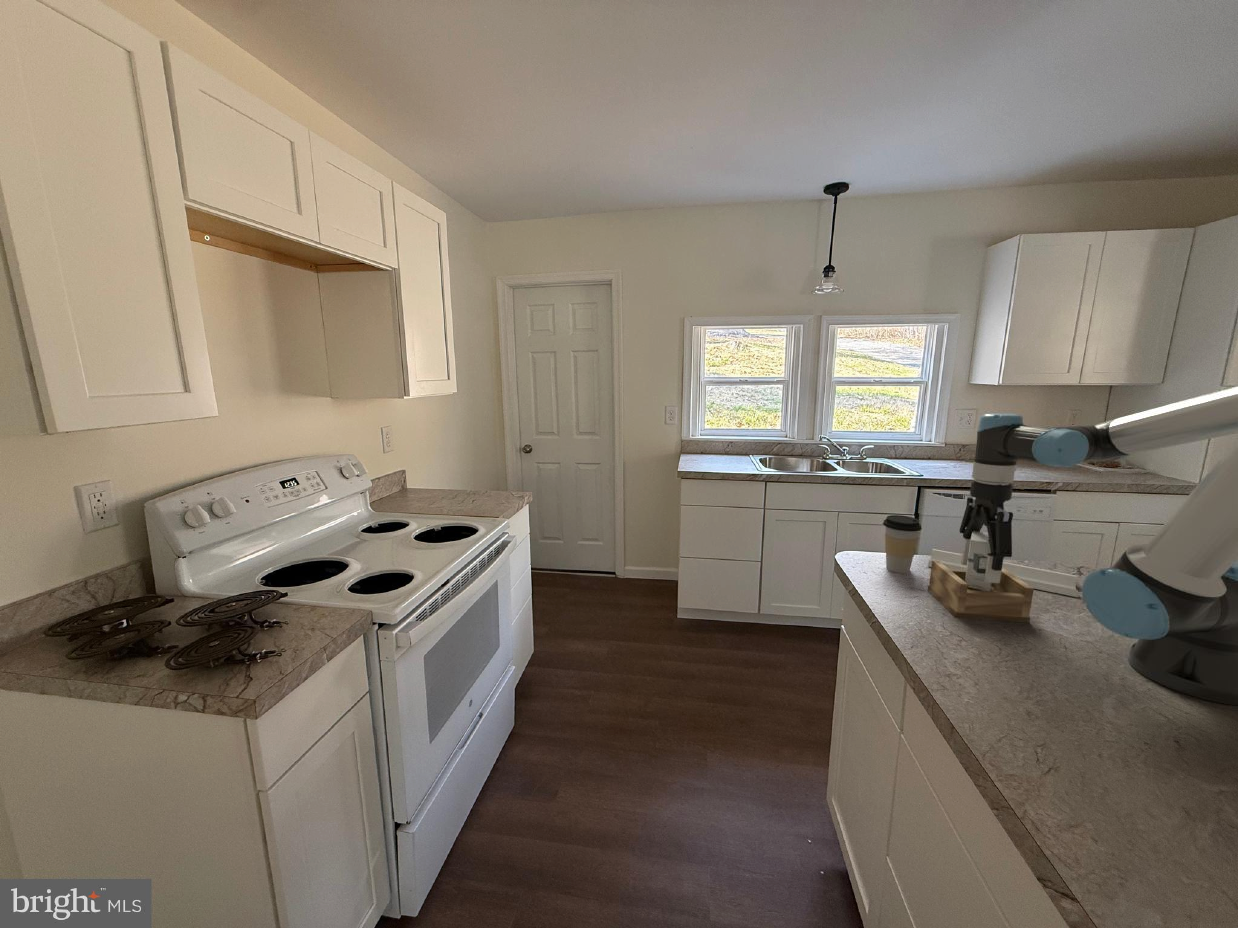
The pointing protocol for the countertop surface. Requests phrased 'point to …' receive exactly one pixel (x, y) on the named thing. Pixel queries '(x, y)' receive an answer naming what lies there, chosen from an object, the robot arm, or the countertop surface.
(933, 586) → the open wooden box
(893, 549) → the coffee cup
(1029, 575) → the crown molding
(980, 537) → the ink box
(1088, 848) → the countertop surface
